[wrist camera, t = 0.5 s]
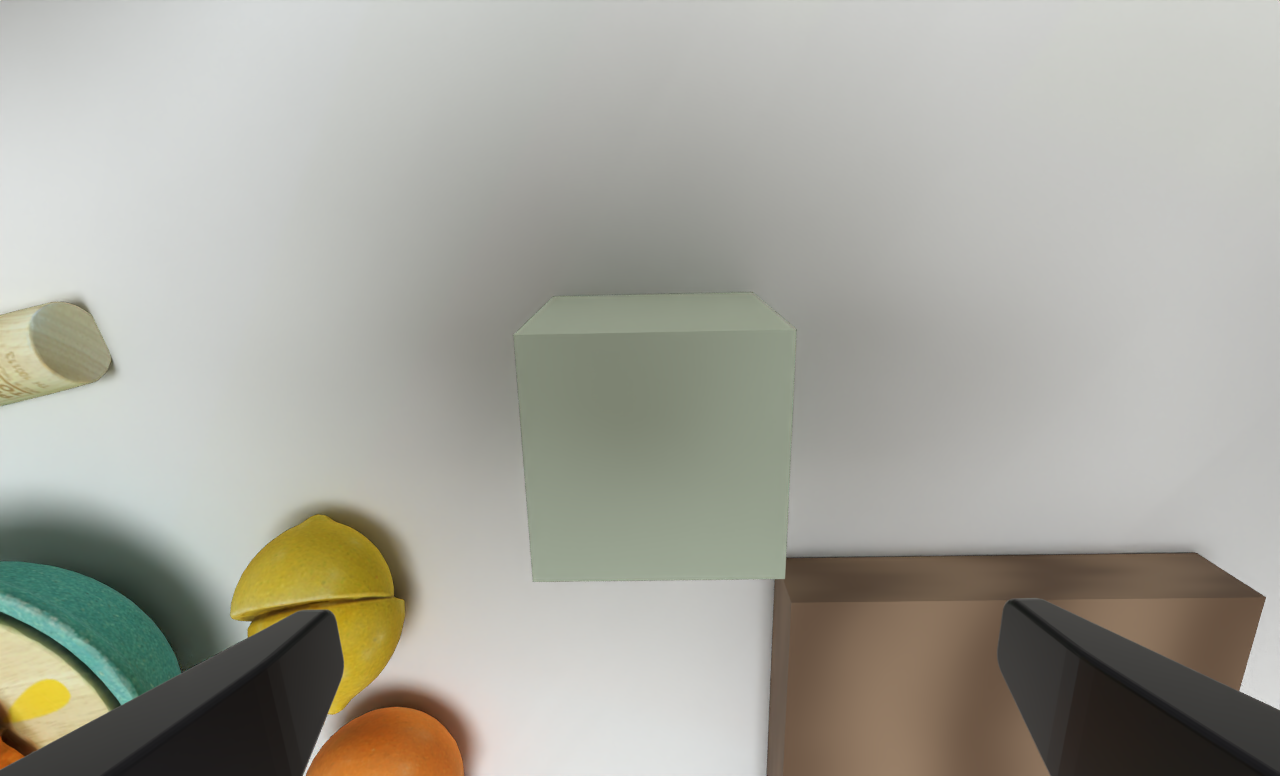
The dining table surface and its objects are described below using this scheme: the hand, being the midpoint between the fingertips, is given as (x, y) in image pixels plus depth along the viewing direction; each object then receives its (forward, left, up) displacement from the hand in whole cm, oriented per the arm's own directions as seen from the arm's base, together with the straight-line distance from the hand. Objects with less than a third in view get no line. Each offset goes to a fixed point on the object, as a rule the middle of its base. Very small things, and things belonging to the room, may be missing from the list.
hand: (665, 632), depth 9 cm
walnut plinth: (-11, +13, -12) cm, 21 cm away
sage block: (0, 0, -12) cm, 12 cm away
